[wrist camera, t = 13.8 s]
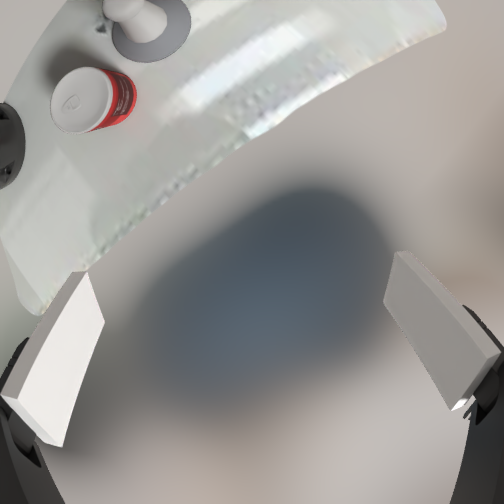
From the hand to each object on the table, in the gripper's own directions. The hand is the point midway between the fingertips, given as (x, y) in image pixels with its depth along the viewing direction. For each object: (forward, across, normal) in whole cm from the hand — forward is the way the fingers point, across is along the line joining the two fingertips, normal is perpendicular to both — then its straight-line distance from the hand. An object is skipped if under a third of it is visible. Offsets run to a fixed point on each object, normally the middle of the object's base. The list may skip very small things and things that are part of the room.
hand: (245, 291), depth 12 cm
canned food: (+32, -16, +10) cm, 37 cm away
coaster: (+32, -10, +20) cm, 39 cm away
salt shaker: (+31, -10, +20) cm, 38 cm away
